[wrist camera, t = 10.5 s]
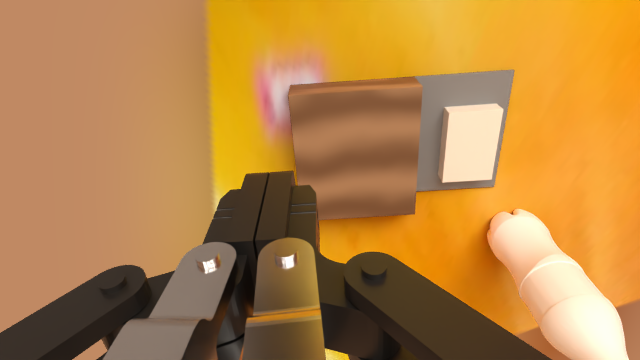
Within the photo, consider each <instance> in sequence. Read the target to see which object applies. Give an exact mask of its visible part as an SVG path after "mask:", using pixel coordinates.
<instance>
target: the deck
mask: <svg viewBox="0 0 640 360" xmlns="http://www.w3.org/2000/svg"><path fill="white" fill-rule="evenodd" d="M422 91H423V86H422V85H421V84H420V83H419V82H418V80H417V79H416V78H415V77H401V78H386V79H372V80H358V81H343V82H329V83H314V84H300V85H290V89H289V94H288V99H289V108H290V117H291V126H292V135H293V144H294V153H295V162H296V171H297V180H298V186H299V185H310V186H311V187H312V188H313V190H314V191H315V192H316V197H317V209H318V220H327V219H343V218H360V217H377V216H394V215H410V214H415V203H416V187H417V171H418V155H419V139H420V123H421V107H422Z"/></svg>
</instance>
